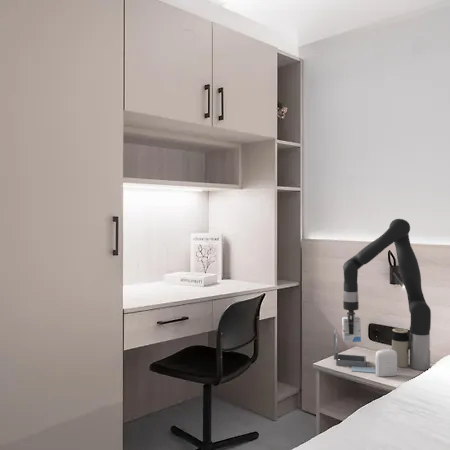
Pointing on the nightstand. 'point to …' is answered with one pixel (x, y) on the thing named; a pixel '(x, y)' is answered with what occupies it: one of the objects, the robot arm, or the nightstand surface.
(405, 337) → the travel mug
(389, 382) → the nightstand surface
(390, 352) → the photo printer
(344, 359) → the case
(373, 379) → the nightstand surface
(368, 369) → the pad
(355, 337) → the ink box
